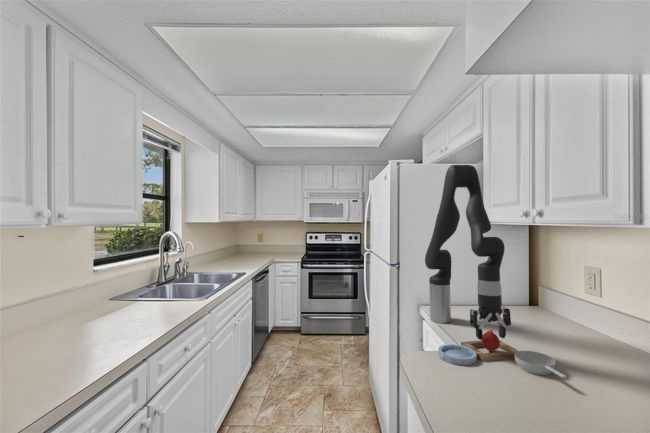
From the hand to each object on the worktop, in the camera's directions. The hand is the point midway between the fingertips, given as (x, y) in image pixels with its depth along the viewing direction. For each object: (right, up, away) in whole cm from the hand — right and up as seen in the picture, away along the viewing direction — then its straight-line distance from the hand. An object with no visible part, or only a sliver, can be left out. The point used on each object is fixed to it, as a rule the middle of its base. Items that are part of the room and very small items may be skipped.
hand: (490, 338), depth 110 cm
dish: (-14, -5, -4) cm, 15 cm away
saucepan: (+7, -5, -16) cm, 18 cm away
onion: (0, -5, 0) cm, 5 cm away
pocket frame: (0, -5, 0) cm, 5 cm away
